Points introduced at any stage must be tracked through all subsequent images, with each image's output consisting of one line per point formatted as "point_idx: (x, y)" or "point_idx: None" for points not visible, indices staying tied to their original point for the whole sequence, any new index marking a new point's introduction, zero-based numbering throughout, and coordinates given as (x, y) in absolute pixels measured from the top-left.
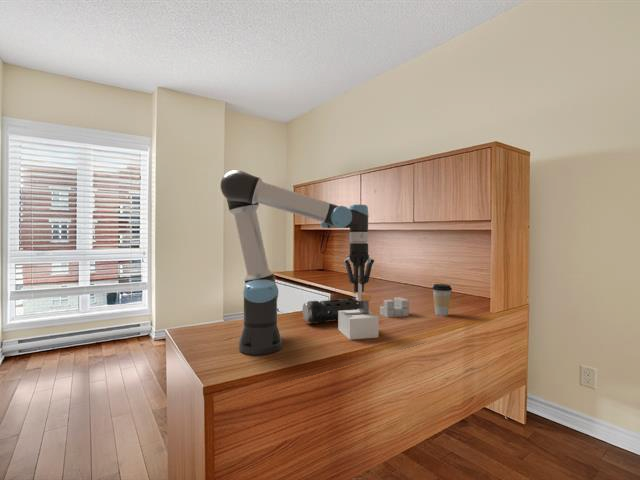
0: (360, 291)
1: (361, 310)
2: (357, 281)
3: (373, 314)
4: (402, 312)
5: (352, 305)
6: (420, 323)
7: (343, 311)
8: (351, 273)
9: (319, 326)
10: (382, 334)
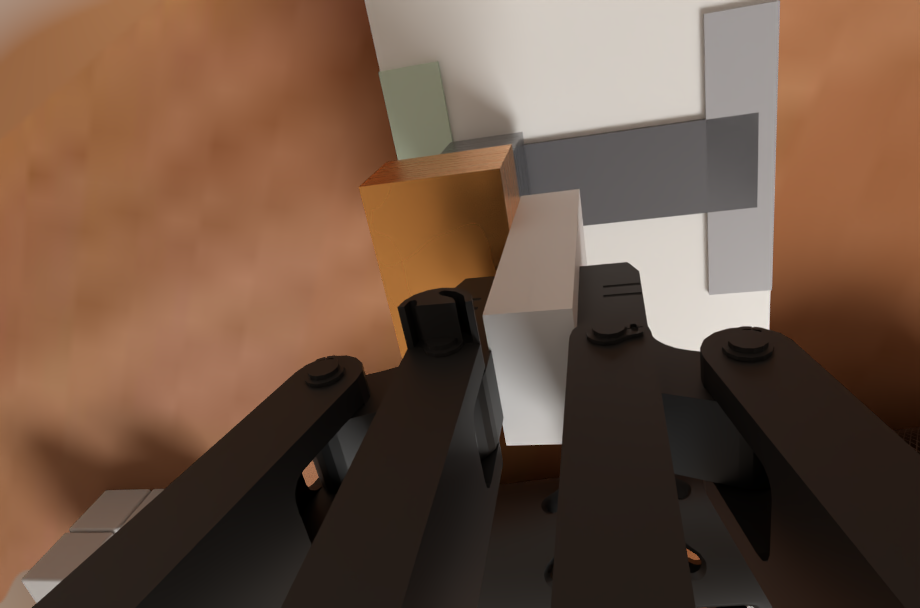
0: (531, 250)
1: (527, 194)
2: (597, 359)
3: (401, 103)
4: (129, 508)
5: (522, 544)
6: (42, 315)
7: (727, 291)
8: (909, 551)
9: (872, 371)
10: (368, 69)
